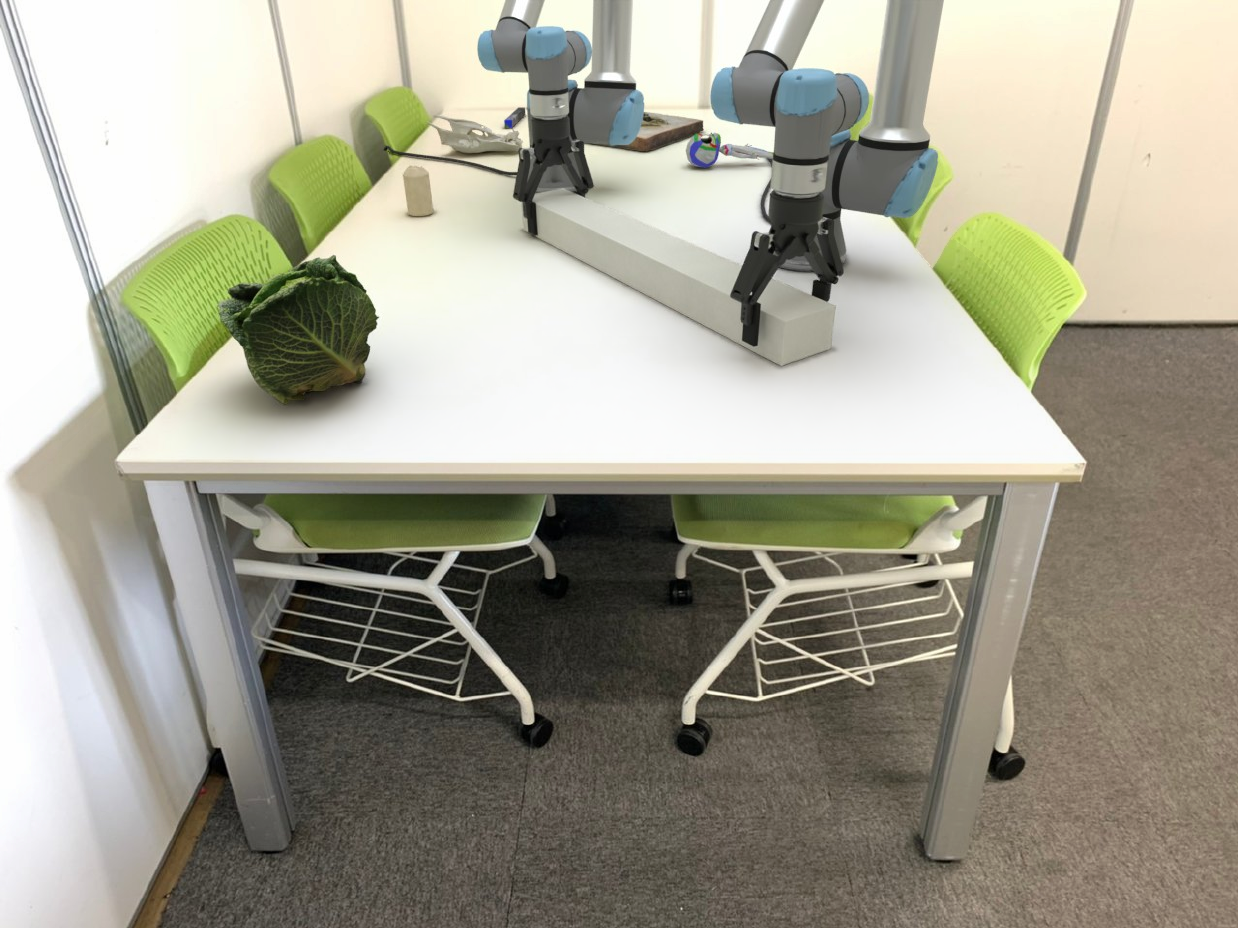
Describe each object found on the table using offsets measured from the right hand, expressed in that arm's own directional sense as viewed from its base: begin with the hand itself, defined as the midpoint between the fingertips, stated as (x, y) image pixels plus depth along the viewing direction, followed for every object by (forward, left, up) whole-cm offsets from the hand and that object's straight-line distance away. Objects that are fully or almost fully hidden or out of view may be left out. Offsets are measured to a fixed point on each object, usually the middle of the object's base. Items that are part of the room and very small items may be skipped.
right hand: (783, 332), depth 136 cm
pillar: (-147, -96, -2) cm, 176 cm away
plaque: (-135, -56, -2) cm, 146 cm away
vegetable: (+28, -64, -2) cm, 69 cm away
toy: (-108, -20, -2) cm, 109 cm away
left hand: (-46, -51, -2) cm, 69 cm away
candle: (-52, -84, -2) cm, 99 cm away
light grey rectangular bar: (-23, -25, -2) cm, 34 cm away
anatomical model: (-108, -93, -2) cm, 143 cm away
